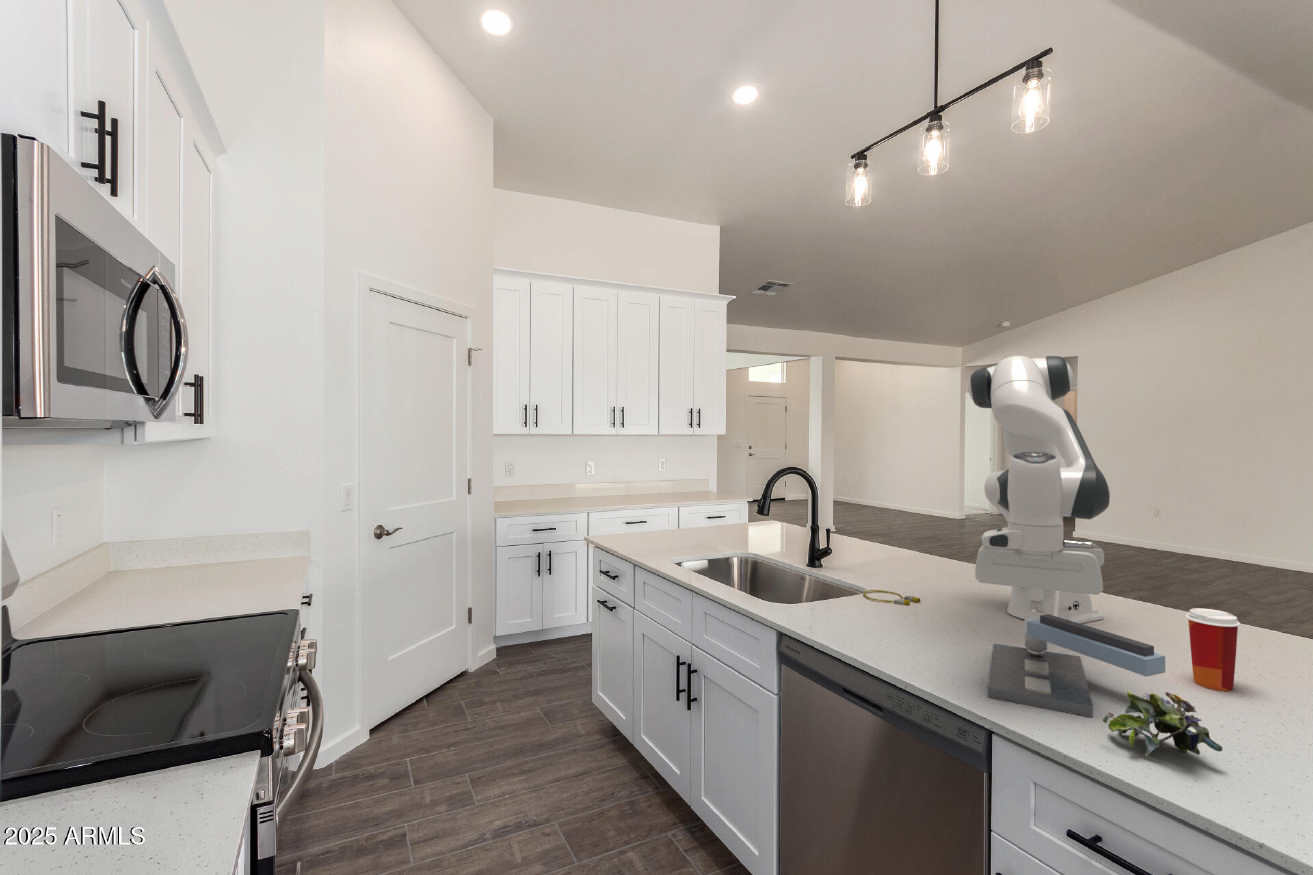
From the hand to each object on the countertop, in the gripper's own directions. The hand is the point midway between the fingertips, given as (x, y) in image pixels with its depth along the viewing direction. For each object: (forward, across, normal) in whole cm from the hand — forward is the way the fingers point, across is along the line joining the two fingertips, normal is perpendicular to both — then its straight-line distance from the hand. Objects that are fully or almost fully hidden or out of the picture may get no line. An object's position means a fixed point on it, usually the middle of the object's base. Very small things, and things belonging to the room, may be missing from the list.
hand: (1036, 611), depth 111 cm
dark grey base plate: (+16, 0, -8) cm, 18 cm away
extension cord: (+17, +36, -54) cm, 67 cm away
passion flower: (+16, -16, +14) cm, 26 cm away
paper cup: (+16, -29, -22) cm, 40 cm away
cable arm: (+13, -8, -11) cm, 19 cm away
